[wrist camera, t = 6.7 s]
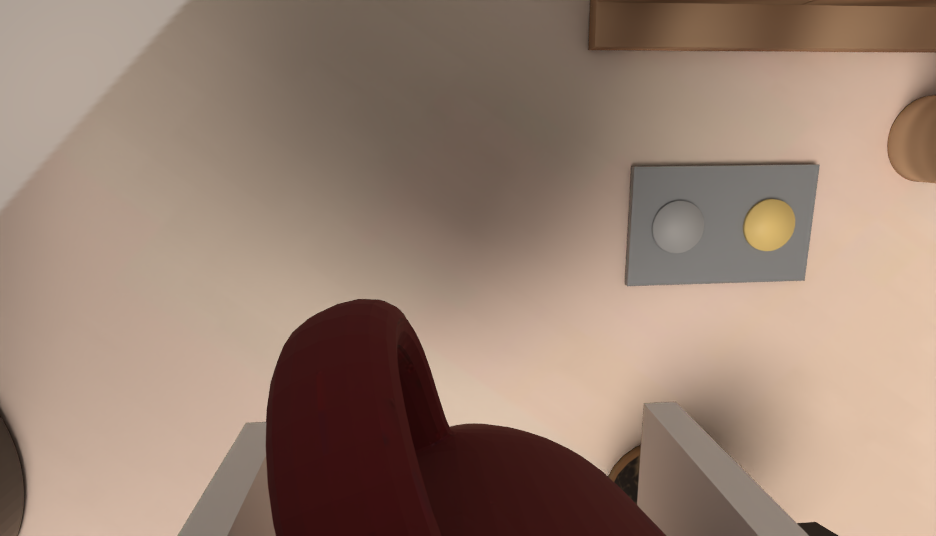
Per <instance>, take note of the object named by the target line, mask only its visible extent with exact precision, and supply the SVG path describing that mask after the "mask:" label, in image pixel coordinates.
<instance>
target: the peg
mask: <svg viewBox="0 0 936 536" xmlns="http://www.w3.org/2000/svg"><path fill="white" fill-rule="evenodd" d="M888 155H889V159H890V162H891V164H892V166H893V168H894V169H895V170H896V172H897V173H898V174H899V175H901V176H902V177H904V178H905V179H908V180H911V181H916V182H929V183H936V95H932V96H926V97H922V98H920V99H918V100H916V101H914V102H912V103H911V104H909V105H908V106H907V107H906V108H905V109H904V110H903V111H902V112H901V113H900V114H899V115H898V117H897V118H896V120H895V122H894V123H893V126H892V128H891V131H890V134H889V138H888Z"/></svg>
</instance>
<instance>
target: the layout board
mask: <svg viewBox="0 0 936 536" xmlns="http://www.w3.org/2000/svg"><path fill="white" fill-rule="evenodd" d="M588 50H673V51H813V52H936V0H590V23H589V49H588Z"/></svg>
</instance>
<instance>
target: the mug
mask: <svg viewBox="0 0 936 536" xmlns="http://www.w3.org/2000/svg"><path fill="white" fill-rule="evenodd" d="M266 463H267V481H268V490H269V498H270V505H271V512H272V519H273V525H274V530H275V534H276V536H666V535H665V534H664V533H663V531H662V530H661V529H660V528H659V527H658V526H657V525H656V524H655V523H654V522H653V521H652V520H651V519H650V518H649V517H648V516H647V515H646V514H645V513H644V512H643V511H642V510H641V509H640V508H639V507H638V505H637V504H636V503H635V502H634V501H633V500H632V499H631V498H630V497H629V496H628V495H627V494H626V493H625V492H624V491H623V490H622V489H621V488H620V487H619V486H618V485H616V484H615V483H614V482H613V481H612V480H611V479H610V478H609V477H608V476H607V475H606V474H604V473H603V472H602V471H601V470H600V469H598V468H597V467H596V466H594V465H593V464H591V463H590V462H589V461H587V460H586V459H584V458H583V457H582V456H580V455H578V454H577V453H575V452H573V451H572V450H570V449H568V448H566V447H564V446H562V445H560V444H558V443H555V442H553V441H551V440H549V439H547V438H544V437H541V436H538V435H535V434H532V433H529V432H525V431H522V430H518V429H514V428H509V427H502V426H495V425H488V424H462V425H455V426H451V427H449V425H448V423H447V420H446V418H445V415H444V412H443V409H442V406H441V403H440V399H439V396H438V393H437V390H436V386H435V383H434V380H433V377H432V373H431V370H430V367H429V364H428V361H427V359H426V356H425V353H424V350H423V348H422V345H421V343H420V341H419V339H418V337H417V335H416V333H415V331H414V329H413V328H412V326H411V325H410V323H409V322H408V320H407V319H406V317H405V316H404V314H403V313H402V312H401V311H400V310H399V309H398V308H397V307H395V306H393V305H391V304H389V303H387V302H385V301H381V300H370V299H357V300H353V301H349V302H344V303H340V304H337V305H334V306H332V307H330V308H328V309H326V310H324V311H322V312H319V313H317V314H316V315H314V316H312V317H311V318H309V319H307V320H306V321H305V322H304V323H303V324H302V325H301V326H299V327H298V328H297V329H296V330H295V331H294V332H292V334H291V336H290V337H289V339H288V340H287V342H286V343H285V345H284V346H283V349H282V351H281V354H280V356H279V359H278V361H277V364H276V368H275V371H274V374H273V377H272V380H271V384H270V391H269V398H268V405H267V416H266Z"/></svg>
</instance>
